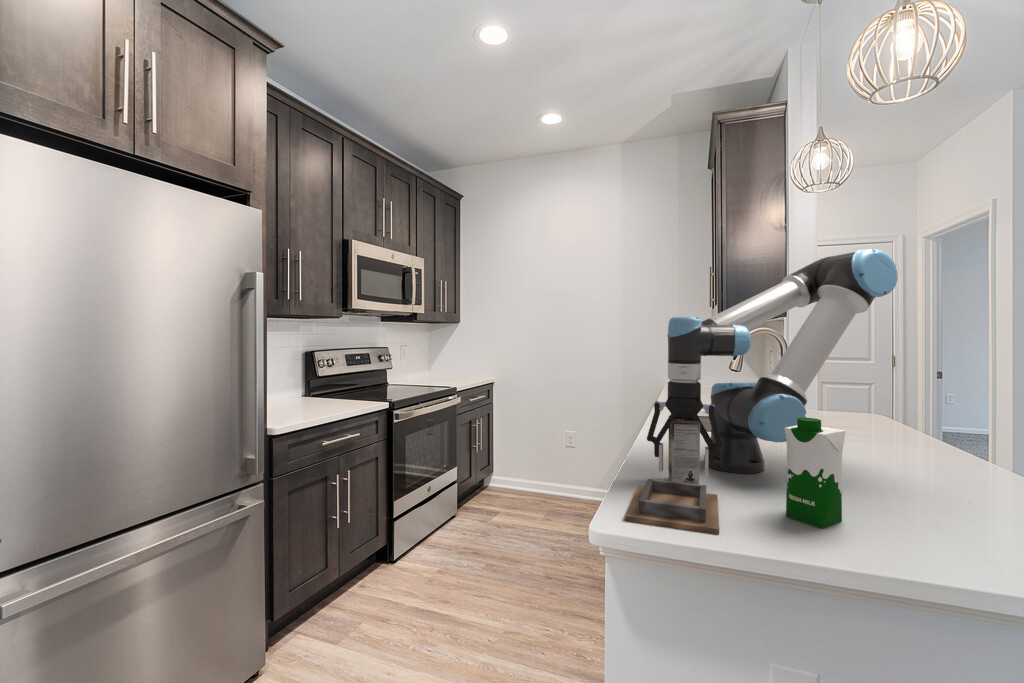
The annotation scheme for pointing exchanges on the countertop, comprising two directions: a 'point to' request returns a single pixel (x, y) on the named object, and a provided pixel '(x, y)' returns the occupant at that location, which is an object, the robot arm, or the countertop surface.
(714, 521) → the pocket board
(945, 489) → the countertop surface
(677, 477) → the coffee box
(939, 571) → the countertop surface
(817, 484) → the milk carton
